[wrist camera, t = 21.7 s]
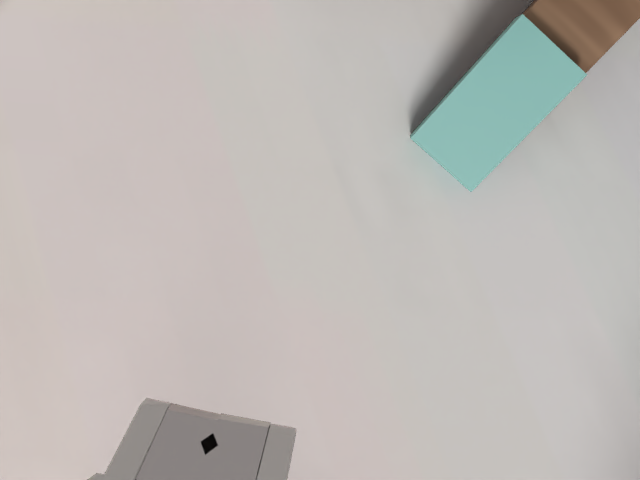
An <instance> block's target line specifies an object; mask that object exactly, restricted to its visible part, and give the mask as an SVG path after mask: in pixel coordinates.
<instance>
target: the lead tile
mask: <svg viewBox="0 0 640 480" xmlns="http://www.w3.org/2000/svg"><path fill="white" fill-rule="evenodd" d="M586 76H587V74H586V73H585V72H584V71H583V70H582V69H581V68H580V67H579V66H577V65H576V64H575V63H574V62H573V61H572V60H571V59H570V58H569V57H568V56H567V55H566V54H565V53H564V52H563V51H562V50H560V49H559V48H558V47H557V46H556V45H555V44H554V43H553V42H552V41H551V40H550V39H549V38H548V37H547V36H546V35H545V34H543V33H542V32H541V31H540V30H539V29H538V28H537V27H536V26H535V25H534V24H533V23H532V22H531V21H530V20H529V19H527V18H526V17H525V16H524V15H523V14H522V15H520V16H518V17H516V18H515V19H514V20H513V21H512V23H511V24H510V25H509V26H508V27H507V28H506V29H505V30H504V31H503V33H502V34H501V35H500V36H499V37H498V38H497V39H496V40H495V41H494V43H493V44H492V45H491V46H490V47H489V48H488V49H487V50H486V51H485V53H484V54H483V55H482V56H481V57H480V58H479V59H478V60H477V61H476V63H475V64H474V65H473V66H472V67H471V68H470V69H469V70H468V71H467V73H466V74H465V75H464V76H463V77H462V78H461V79H460V80H459V81H458V83H457V84H456V85H455V86H454V87H453V88H452V89H451V90H450V91H449V93H448V94H447V95H446V96H445V97H444V98H443V99H442V100H441V101H440V103H439V104H438V105H437V106H436V107H435V108H434V109H433V110H432V111H431V113H430V114H429V115H428V116H427V117H426V118H425V119H424V120H423V121H422V123H421V124H420V125H419V126H418V127H417V128H416V129H415V130H414V131H413V133H412V134H411V135H410V138H411V139H412V140H413V141H414V142H415V143H416V144H417V145H419V146H420V147H421V148H422V149H423V150H424V151H425V152H426V153H428V154H429V155H430V156H431V157H432V158H433V159H434V160H435V161H437V162H438V163H439V164H440V165H441V166H442V167H443V168H444V169H445V170H447V171H448V172H449V173H450V174H451V175H452V176H453V177H454V178H456V179H457V180H458V181H459V182H460V183H461V184H462V185H463V186H465V187H466V188H467V189H468V190H469V191H470V192H472V191H473V190H474V189H475V188H476V187H477V186H478V185H479V184H480V183H481V182H482V180H483V179H484V178H485V177H486V176H487V175H488V174H489V173H490V172H491V171H492V170H493V169H494V168H495V167H496V166H497V165H498V164H499V163H500V162H501V161H502V160H503V159H504V158H505V157H506V156H507V155H508V154H509V153H510V152H511V151H512V150H513V149H514V148H515V147H516V146H517V145H518V144H519V143H520V142H521V141H522V140H523V139H524V138H525V137H526V136H527V135H528V134H529V133H530V132H531V131H532V130H533V129H534V128H535V127H536V126H537V125H538V124H539V123H540V122H541V121H542V120H543V119H544V118H545V117H546V116H547V115H548V114H549V113H550V112H551V111H552V110H553V109H554V108H555V107H556V106H557V105H558V104H559V103H560V102H561V101H562V100H563V99H564V98H565V97H566V96H567V95H568V94H569V93H570V92H571V91H572V90H573V89H574V88H575V87H576V86H577V85H578V84H579V83H580V82H581V81H582V80H583V79H584V78H585V77H586Z"/></svg>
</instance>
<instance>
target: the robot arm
mask: <svg viewBox="0 0 640 480" xmlns="http://www.w3.org/2000/svg"><path fill="white" fill-rule="evenodd" d="M295 436H296V428H292V427H287V426H281V425H276V424H271V423H270V422H265V421H259V420H254V419H249V418H243V417H238V416H232V415H227V414H222V413H221V414H218V413H213V412H209V411H204V410H200V409H195V408H190V407H186V406H181V405H177V404H173V403H169V402H164V401H159V400H154V399H149V398H146V399H145V400H144V401H143V403H142V404H141V405H140V406H139V408H138V410H137V412H136V414H135V416H134V418H133V420H132V422H131V424H130V426H129V428H128V430H127V431H126V433H125V435H124V437H123V439H122V441H121V443H120V445H119V447H118V449H117V451H116V453H115V455H114V457H113V459H112V461H111V463H110V464H109V466H108V468H107V470H106V472H105V474H99V473H96V474H95V475H93V476H92V477H90V478H89V479H88V480H287V478H288V473H289V468H290V462H291V457H292V452H293V446H294V441H295Z"/></svg>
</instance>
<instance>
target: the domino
mask: <svg viewBox="0 0 640 480" xmlns="http://www.w3.org/2000/svg"><path fill="white" fill-rule="evenodd" d="M523 15H524V16H525V17H526V18H527V19H529V20H530V21H531V22H532V23H533V24H534V25H535V26H536V27H537V28H538V29H539V30H540V31H541V32H542V33H543V34H545V35H546V36H547V37H548V38H549V39H550V40H551V41H552V42H553V43H554V44H555V45H556V46H557V47H558V48H559V49H560V50H562V51H563V52H564V53H565V54H566V55H567V56H568V57H569V58H570V59H571V60H572V61H573V62H574V63H575V64H576V65H577V66H579V67H580V68H581V69H582V70H583V71H584V72H585V73H586V72H587V71H588V70H589V69H590V68H591V67H592V66H593V65H594V64H595V63H596V62H597V61H598V60H599V59H600V58H601V57H602V56H603V55H604V54H605V53H606V52H607V51H608V50H609V49H610V48H611V47H612V46H613V45H614V44H615V43H616V42H617V41H618V40H619V39H620V38H621V37H622V36H623V35H624V34H625V33H626V32H627V31H628V29H629V28H630V27H631V26H632V25H633V24H634V23H635V22H636V21H637V20H638V19H639V18H640V1H639V0H534V1H533V3H532V4H531V5H530V6H529V7H528V8H527V9H526V10H525V11H524V13H523Z"/></svg>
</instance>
